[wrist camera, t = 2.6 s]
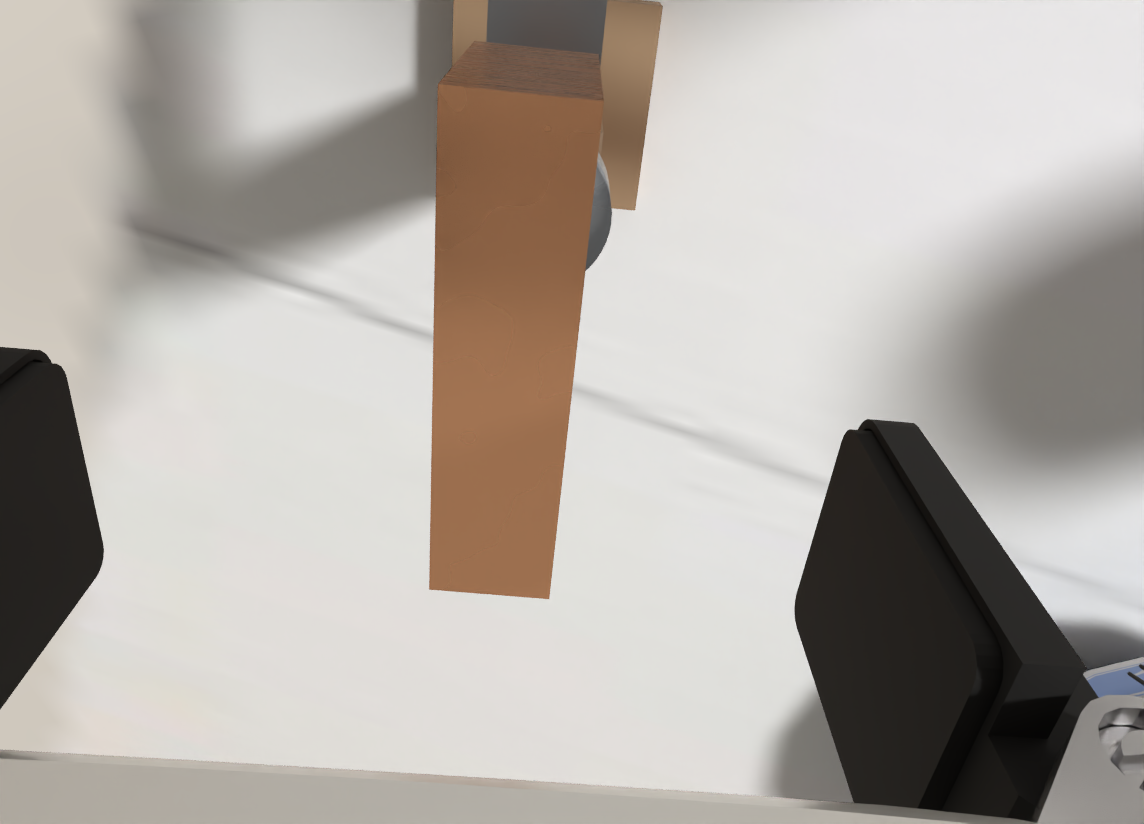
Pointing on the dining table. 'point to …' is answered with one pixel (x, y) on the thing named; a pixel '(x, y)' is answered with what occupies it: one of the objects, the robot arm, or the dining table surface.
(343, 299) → the dining table surface
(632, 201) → the frame
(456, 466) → the t key
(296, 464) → the dining table surface
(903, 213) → the dining table surface
